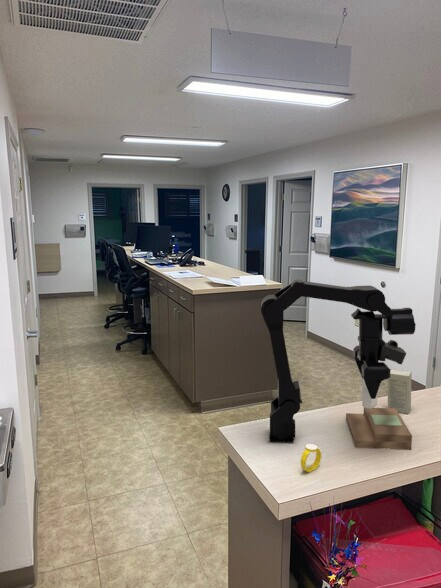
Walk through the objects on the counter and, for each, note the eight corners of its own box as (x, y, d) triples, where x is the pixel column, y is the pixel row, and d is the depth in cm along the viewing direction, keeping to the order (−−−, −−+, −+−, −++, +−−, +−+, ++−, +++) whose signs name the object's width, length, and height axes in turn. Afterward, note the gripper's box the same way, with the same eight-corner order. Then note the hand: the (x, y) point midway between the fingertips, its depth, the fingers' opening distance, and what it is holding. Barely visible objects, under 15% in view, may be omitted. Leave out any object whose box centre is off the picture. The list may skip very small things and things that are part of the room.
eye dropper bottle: (383, 405, 115) (384, 361, 113) (367, 410, 113) (368, 365, 111) (371, 399, 119) (372, 357, 117) (355, 404, 116) (356, 361, 114)
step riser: (354, 447, 113) (355, 432, 113) (345, 419, 129) (346, 406, 128) (411, 449, 111) (412, 434, 111) (395, 421, 127) (395, 407, 126)
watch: (314, 463, 107) (315, 440, 106) (323, 468, 105) (324, 445, 104) (297, 471, 103) (298, 447, 103) (306, 476, 101) (308, 452, 101)
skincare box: (411, 409, 135) (412, 371, 132) (408, 414, 131) (410, 376, 129) (389, 405, 138) (390, 368, 136) (386, 410, 134) (387, 372, 132)
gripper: (413, 345, 102) (411, 407, 105) (394, 325, 120) (393, 379, 123) (364, 345, 104) (363, 406, 107) (353, 326, 122) (352, 379, 125)
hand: (370, 391), depth 115 cm, fingers closed on eye dropper bottle, 8 cm apart
